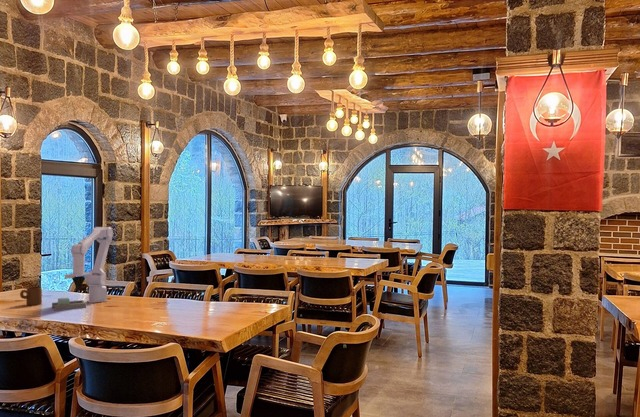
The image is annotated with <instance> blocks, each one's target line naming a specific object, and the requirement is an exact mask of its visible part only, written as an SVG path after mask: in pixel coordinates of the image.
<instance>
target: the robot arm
mask: <svg viewBox="0 0 640 417" xmlns="http://www.w3.org/2000/svg"><path fill="white" fill-rule="evenodd" d="M113 236H114V231H113V227H111V226H106V227H105V226H95V227H94V228H92V232H91V233H90V234H89V236H83V239H81V240H80V241H79V242H77V243H75V244H73V245H72V246H71V249H70V252H71V257H72V260H73V261H72V273H70V274H69V273H68V274H65V275H64V279H71V280H72V281H73V283H74V286H75V289H76V290H75V291H78V292H79V291H81V289H82V286H83V284H84V282H85V283H86V285H87V287H88V299H87V300H86V301H87V302H88V303H90V304H92V303H101V302H102V303H104V302H105V303H106V302H108V300H107V296H108V295H107V293H108V292H107V291H108V290H107V286H106V285H105V284H106V281H107V274H106V272H105V271H104V267H105V263H106V259H107V256H108V252H109V247H110V243H112V240H113ZM95 240H96V242H98V243H99V245H98V246H99V247H98V250H97V254H96V257H95V261H94V266H93V268H92V269H91V270H90V271H88V272H85V258H86V257H85V255H86V254H87V253H88V250H89V248H90V247H91V246H93V243H94V241H95Z"/></svg>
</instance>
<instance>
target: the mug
mask: <svg viewBox="0 0 640 417" xmlns="http://www.w3.org/2000/svg"><path fill="white" fill-rule="evenodd" d="M42 288H43V287H41V286H32V287H31V286H29V287H27V288H26V289H22V290H21V291H20V293H19V295H20V298H21V299H23V300H25V303H26V306H39V305H40V306H41V304H42V302H43V300H42V298H43V297H42V296H43V291H42ZM24 293H25V294H26V295H25V294H24Z"/></svg>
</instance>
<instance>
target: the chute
mask: <svg viewBox="0 0 640 417" xmlns="http://www.w3.org/2000/svg"><path fill="white" fill-rule="evenodd" d="M76 308H77V309H85V308H87V303H86V302H85V301H84V300H83V299H82V300H81V299H80V300H69V304H63V305H58V301H57V302H52V303H51V309H54V311H64V310H75V309H76ZM77 309H76V310H77Z"/></svg>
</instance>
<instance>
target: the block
mask: <svg viewBox="0 0 640 417" xmlns="http://www.w3.org/2000/svg"><path fill="white" fill-rule="evenodd" d="M69 301H70V298H69V297H62V298H57V302H58V305H63V304H69Z"/></svg>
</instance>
